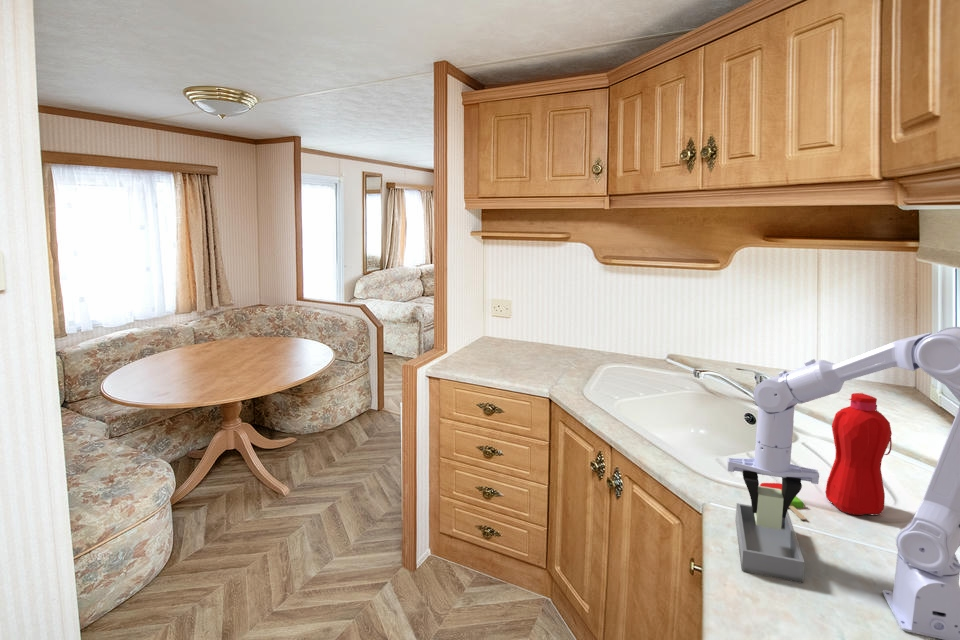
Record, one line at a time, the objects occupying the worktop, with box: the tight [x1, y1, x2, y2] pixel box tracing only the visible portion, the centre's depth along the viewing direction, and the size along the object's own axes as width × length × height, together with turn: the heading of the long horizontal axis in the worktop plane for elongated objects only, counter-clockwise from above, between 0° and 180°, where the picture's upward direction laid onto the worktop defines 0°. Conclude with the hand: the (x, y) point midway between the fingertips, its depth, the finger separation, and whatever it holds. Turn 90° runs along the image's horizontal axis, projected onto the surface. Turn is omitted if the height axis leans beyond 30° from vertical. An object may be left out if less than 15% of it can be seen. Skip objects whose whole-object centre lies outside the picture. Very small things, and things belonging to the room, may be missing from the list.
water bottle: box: [824, 392, 893, 516], centre depth 112 cm, size 9×11×25 cm
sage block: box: [754, 485, 784, 530], centre depth 97 cm, size 4×4×6 cm
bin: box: [735, 503, 805, 584], centre depth 98 cm, size 18×9×4 cm, turn 157°
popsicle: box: [759, 482, 807, 521], centre depth 115 cm, size 6×15×2 cm, turn 176°
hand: (768, 512), depth 97 cm, fingers closed on sage block, 4 cm apart
